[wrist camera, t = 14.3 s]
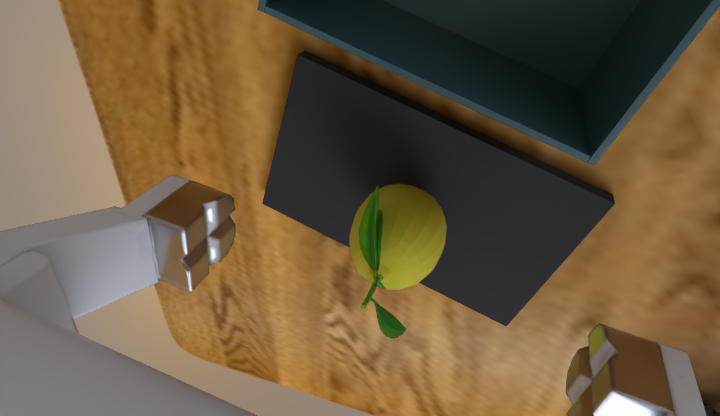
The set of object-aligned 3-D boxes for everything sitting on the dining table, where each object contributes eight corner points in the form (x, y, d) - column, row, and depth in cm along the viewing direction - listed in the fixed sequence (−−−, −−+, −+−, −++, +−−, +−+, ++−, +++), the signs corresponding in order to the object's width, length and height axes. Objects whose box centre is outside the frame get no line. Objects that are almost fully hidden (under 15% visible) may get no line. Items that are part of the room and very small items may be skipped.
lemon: (429, 258, 31) (390, 374, 24) (356, 216, 32) (293, 318, 24) (482, 189, 27) (455, 302, 19) (398, 141, 27) (338, 234, 20)
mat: (613, 194, 26) (615, 203, 25) (507, 316, 33) (506, 326, 32) (304, 50, 27) (297, 54, 27) (268, 196, 35) (262, 203, 34)
